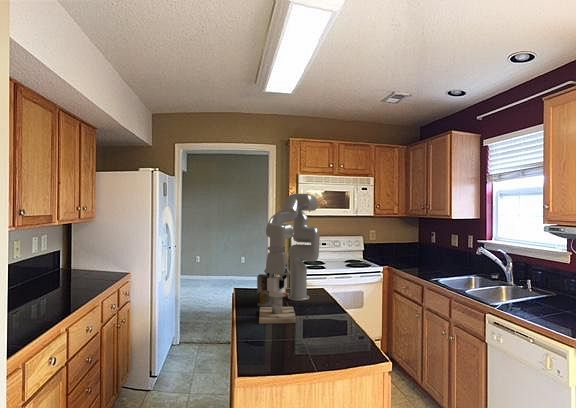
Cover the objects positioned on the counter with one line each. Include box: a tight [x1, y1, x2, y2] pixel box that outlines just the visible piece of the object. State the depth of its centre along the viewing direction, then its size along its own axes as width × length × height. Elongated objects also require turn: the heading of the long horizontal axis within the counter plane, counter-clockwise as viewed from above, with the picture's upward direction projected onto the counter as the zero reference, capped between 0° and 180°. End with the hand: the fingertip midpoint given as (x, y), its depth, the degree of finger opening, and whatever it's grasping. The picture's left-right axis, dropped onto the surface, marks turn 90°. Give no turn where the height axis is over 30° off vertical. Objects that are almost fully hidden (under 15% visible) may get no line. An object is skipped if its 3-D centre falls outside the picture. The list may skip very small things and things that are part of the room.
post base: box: [258, 297, 297, 325], centre depth 170 cm, size 20×17×10 cm
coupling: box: [267, 274, 290, 298], centre depth 169 cm, size 10×11×9 cm
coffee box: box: [256, 273, 276, 307], centre depth 191 cm, size 9×6×16 cm
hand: (277, 287), depth 170 cm, fingers closed on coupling, 4 cm apart
